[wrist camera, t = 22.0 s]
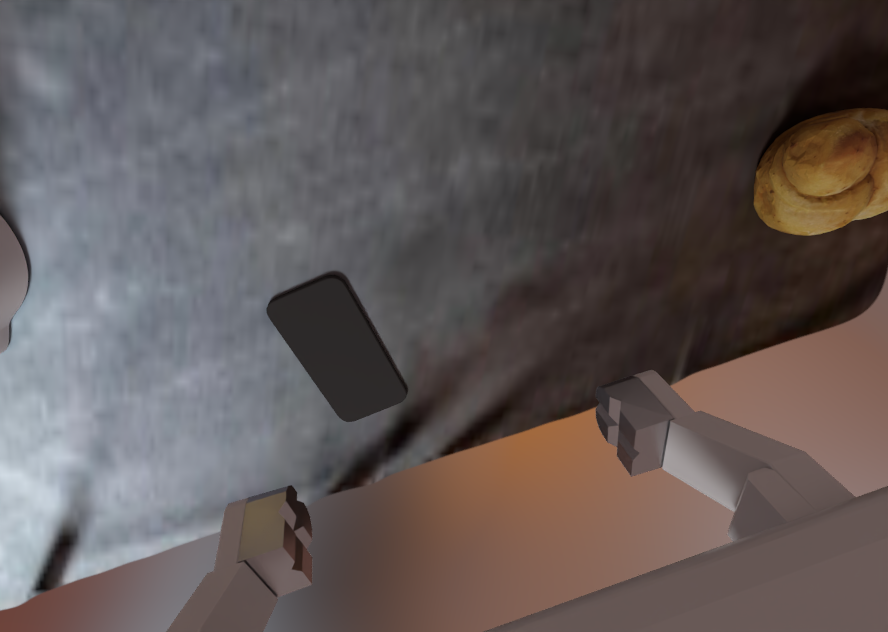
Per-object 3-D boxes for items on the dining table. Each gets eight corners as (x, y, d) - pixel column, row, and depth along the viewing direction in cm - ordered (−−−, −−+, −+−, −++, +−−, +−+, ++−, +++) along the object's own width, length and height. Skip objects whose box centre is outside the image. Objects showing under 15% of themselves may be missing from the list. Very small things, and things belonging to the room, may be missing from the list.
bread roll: (898, 93, 38) (1017, 98, 30) (861, 209, 42) (957, 236, 35) (750, 116, 37) (837, 126, 30) (728, 231, 42) (799, 263, 35)
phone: (343, 425, 46) (260, 306, 39) (344, 420, 47) (262, 302, 39) (410, 398, 45) (338, 272, 38) (410, 393, 46) (339, 269, 39)
